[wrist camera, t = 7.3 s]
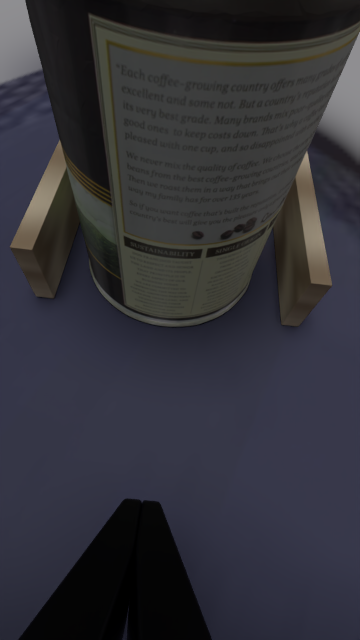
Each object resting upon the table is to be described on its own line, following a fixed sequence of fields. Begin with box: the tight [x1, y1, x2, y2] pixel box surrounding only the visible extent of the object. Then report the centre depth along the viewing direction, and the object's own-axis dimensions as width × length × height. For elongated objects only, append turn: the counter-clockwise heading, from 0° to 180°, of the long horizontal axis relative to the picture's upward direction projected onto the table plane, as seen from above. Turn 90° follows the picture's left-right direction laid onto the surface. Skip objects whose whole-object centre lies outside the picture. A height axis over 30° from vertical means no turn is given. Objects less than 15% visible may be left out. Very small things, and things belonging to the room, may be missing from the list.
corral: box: [10, 141, 332, 327], centre depth 21 cm, size 15×15×4 cm
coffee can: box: [26, 0, 360, 327], centre depth 15 cm, size 10×10×14 cm
